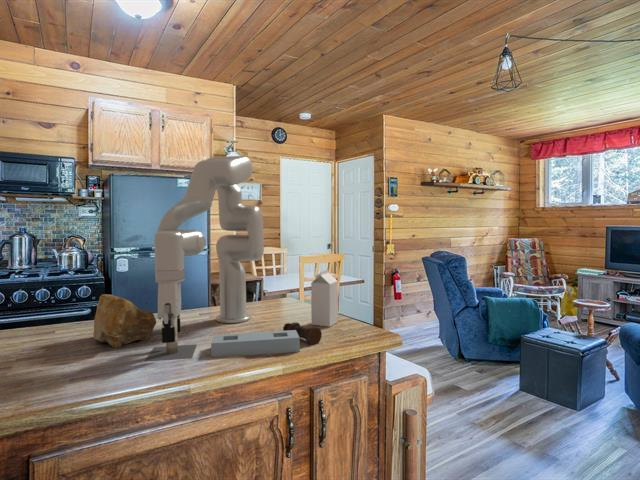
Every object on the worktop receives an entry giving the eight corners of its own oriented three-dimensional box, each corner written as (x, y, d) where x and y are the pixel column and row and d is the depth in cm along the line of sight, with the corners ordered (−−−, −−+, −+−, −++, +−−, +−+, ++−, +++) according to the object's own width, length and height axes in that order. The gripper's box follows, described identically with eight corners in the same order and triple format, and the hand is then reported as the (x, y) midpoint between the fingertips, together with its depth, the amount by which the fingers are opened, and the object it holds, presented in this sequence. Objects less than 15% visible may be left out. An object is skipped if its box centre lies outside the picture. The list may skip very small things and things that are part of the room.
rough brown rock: (163, 348, 119) (166, 297, 120) (100, 354, 110) (103, 299, 110) (145, 333, 138) (147, 289, 139) (90, 337, 128) (93, 291, 129)
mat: (154, 348, 116) (154, 347, 116) (197, 345, 119) (196, 344, 119) (144, 362, 105) (144, 361, 105) (192, 359, 107) (192, 357, 107)
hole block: (211, 358, 108) (211, 343, 108) (213, 348, 116) (213, 335, 115) (299, 351, 112) (299, 337, 112) (295, 343, 120) (295, 329, 120)
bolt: (288, 338, 131) (317, 348, 120) (277, 333, 129) (305, 342, 117) (295, 322, 133) (324, 329, 121) (284, 316, 130) (312, 323, 119)
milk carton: (337, 322, 144) (337, 270, 143) (329, 327, 138) (329, 272, 137) (319, 320, 147) (319, 269, 146) (311, 325, 141) (310, 271, 140)
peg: (167, 350, 113) (166, 315, 112) (178, 350, 113) (177, 315, 113) (165, 354, 110) (164, 318, 109) (177, 353, 110) (176, 317, 110)
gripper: (161, 272, 118) (163, 329, 119) (148, 281, 101) (150, 347, 102) (188, 271, 120) (189, 328, 121) (179, 279, 103) (181, 345, 104)
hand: (171, 337), depth 111 cm, fingers open, 9 cm apart
